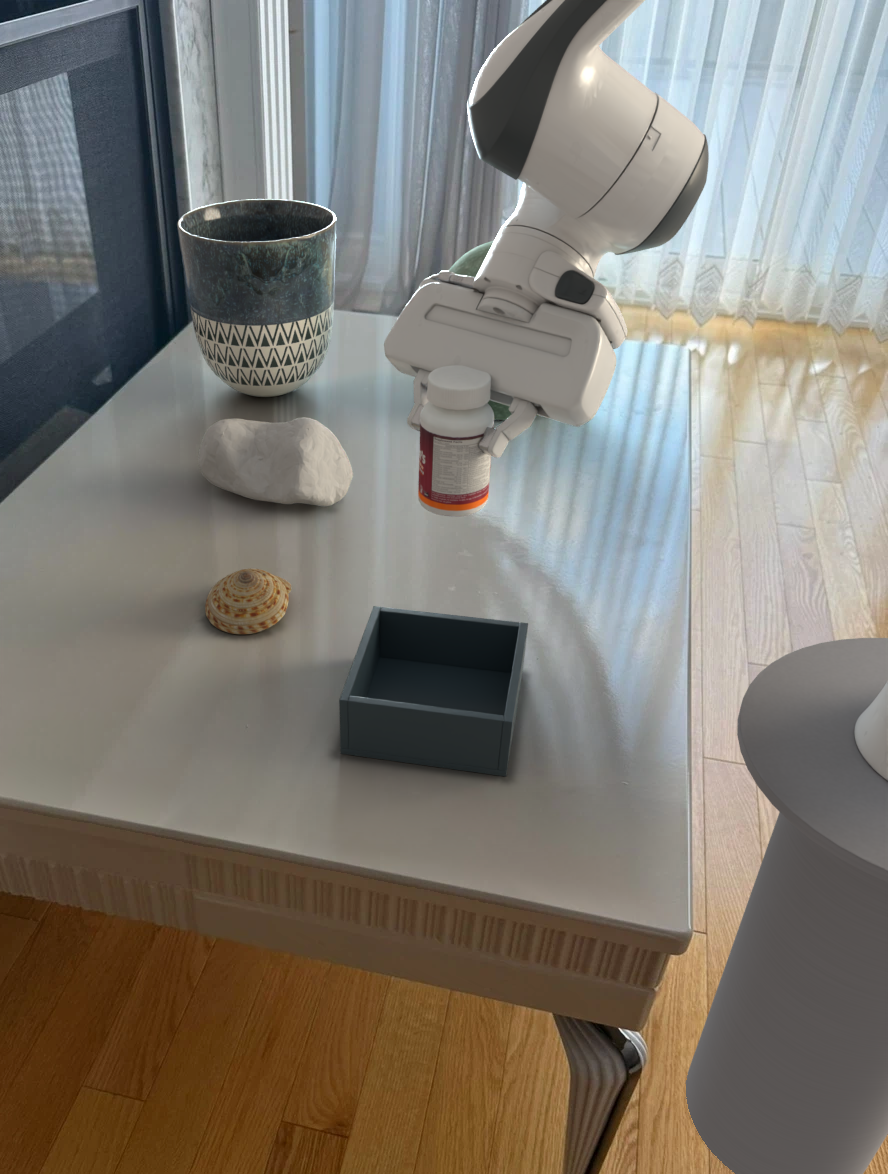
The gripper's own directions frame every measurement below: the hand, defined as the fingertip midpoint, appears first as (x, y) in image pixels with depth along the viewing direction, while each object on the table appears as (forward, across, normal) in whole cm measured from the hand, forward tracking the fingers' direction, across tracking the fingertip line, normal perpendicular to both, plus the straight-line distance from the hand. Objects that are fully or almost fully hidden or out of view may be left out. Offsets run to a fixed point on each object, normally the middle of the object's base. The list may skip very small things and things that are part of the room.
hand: (451, 440), depth 88 cm
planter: (-7, -52, +33) cm, 62 cm away
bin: (+21, +8, +5) cm, 23 cm away
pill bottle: (+4, 0, +5) cm, 6 cm away
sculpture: (-19, -26, +45) cm, 55 cm away
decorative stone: (+8, -30, +18) cm, 36 cm away
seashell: (+20, -15, +5) cm, 26 cm away
